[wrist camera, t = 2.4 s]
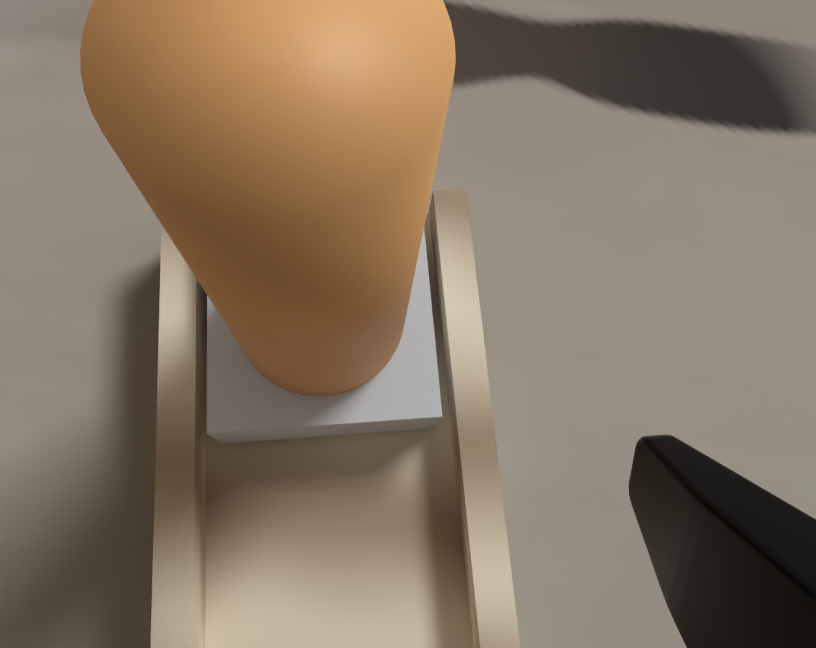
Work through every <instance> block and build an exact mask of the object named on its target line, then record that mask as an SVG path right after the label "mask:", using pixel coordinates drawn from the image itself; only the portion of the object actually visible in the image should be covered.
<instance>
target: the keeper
mask: <svg viewBox="0 0 816 648" xmlns="http://www.w3.org/2000/svg"><path fill="white" fill-rule="evenodd" d="M80 55H81V75H82V81H83V87H84V92H85V95H86V98H87V101H88V103H89V106H90V109H91V112H92V114H93V116H94V118H95V119H96V121H97V123H98V125H99V127H100V129H101V131H102V132H103V134H104V135H105V137H106V138H107V140H108V142H109V143H110V145H111V146H112V148H113V149H114V151H115V152H116V154H117V156H118V157H119V159H120V160H121V162H122V163H123V165H124V167H125V168H126V170H127V171H128V173H129V174H130V176H131V177H132V179H133V181H134V182H135V184H136V185H137V187H138V188H139V190H140V191H141V193H142V195H143V196H144V198H145V199H146V201H147V202H148V204H149V205H150V207H151V209H152V210H153V212H154V213H155V215H156V216H157V218H158V219H159V221H160V223H161V224H162V226H163V227H164V229H165V230H166V232H167V233H168V235H169V237H170V238H171V240H172V241H173V243H174V244H175V246H176V247H177V249H178V251H179V252H180V254H181V255H182V257H183V258H184V260H185V261H186V263H187V265H188V266H189V268H190V269H191V271H192V272H193V274H194V275H195V277H196V279H197V280H198V282H199V283H200V285H201V286H202V288H203V289H204V291H205V293H206V294H207V434H208V435H210V436H211V437H213V438H214V439H216V440H217V441H219V442H220V443H222V444H224V443H238V442H252V441H265V440H279V439H293V438H307V437H321V436H334V435H348V434H362V433H376V432H389V431H403V430H417V429H431V428H435V427H436V425H437V424H438V423H439V421H440V420H441V418H442V406H441V396H440V386H439V375H438V365H437V355H436V344H435V334H434V324H433V313H432V303H431V293H430V283H429V272H428V262H427V252H426V241H425V231H424V224H425V219H426V214H427V209H428V205H429V200H430V195H431V190H432V185H433V180H434V175H435V170H436V165H437V160H438V155H439V150H440V145H441V140H442V135H443V130H444V125H445V120H446V115H447V110H448V105H449V100H450V95H451V90H452V85H453V80H454V71H455V61H456V59H455V40H454V35H453V30H452V25H451V21H450V18H449V15H448V12H447V10H446V7H445V4H444V2H443V0H94V2H93V4H92V6H91V8H90V11H89V14H88V17H87V20H86V23H85V26H84V30H83V36H82V43H81V50H80Z"/></svg>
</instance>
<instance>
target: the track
mask: <svg viewBox="0 0 816 648" xmlns="http://www.w3.org/2000/svg"><path fill="white" fill-rule="evenodd" d="M424 231H425V241H426V252H427V262H428V272H429V283H430V293H431V303H432V313H433V324H434V334H435V344H436V355H437V365H438V375H439V386H440V396H441V406H442V418H441V420H440V421H439V423H438V424H437V425H436V427H435V428H431V429H417V430H403V431H389V432H376V433H362V434H348V435H334V436H321V437H307V438H293V439H279V440H265V441H252V442H238V443H224V444H222V443H220V442H219V441H217V440H216V439H214V438H213V437H211V436H210V435H208V434H207V294H206V293H205V291H204V289H203V288H202V286H201V285H200V283H199V282H198V280H197V279H196V277H195V275H194V274H193V272H192V271H191V269H190V268H189V266H188V265H187V263H186V261H185V260H184V258H183V257H182V255H181V254H180V252H179V251H178V249H177V247H176V246H175V244H174V243H173V241H172V240H171V238H170V237H169V235H168V233H167V232H166V230H165V229H164V227H163V226H161V264H160V303H159V341H158V380H157V419H156V457H155V496H154V534H153V573H152V611H151V648H520V641H519V633H518V624H517V616H516V607H515V599H514V590H513V582H512V574H511V565H510V557H509V548H508V540H507V531H506V523H505V515H504V506H503V498H502V489H501V481H500V472H499V464H498V456H497V447H496V439H495V430H494V422H493V413H492V405H491V397H490V388H489V380H488V371H487V363H486V354H485V346H484V337H483V329H482V321H481V312H480V304H479V295H478V287H477V278H476V270H475V262H474V253H473V245H472V236H471V228H470V219H469V211H468V203H467V194H466V189H462V190H439V191H433V195H432V199H431V204H430V209H429V212H427V214H426V219H425V224H424Z"/></svg>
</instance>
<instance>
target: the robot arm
mask: <svg viewBox="0 0 816 648" xmlns="http://www.w3.org/2000/svg"><path fill="white" fill-rule="evenodd" d="M629 496H630V500H631V504H632V507H633V510H634V512H635V515H636V518H637V521H638V524H639V527H640V530H641V533H642V536H643V538H644V541H645V544H646V547H647V550H648V553H649V556H650V559H651V561H652V564H653V567H654V570H655V573H656V576H657V579H658V582H659V585H660V587H661V590H662V593H663V595H664V598H665V601H666V603H667V606H668V608H669V610H670V613H671V615H672V617H673V619H674V622H675V624H676V626H677V628H678V630H679V632H680V634H681V636H682V638H683V641H684V643H685V645H686V647H687V648H816V519H814V518H812V517H811V516H809V515H807V514H806V513H804V512H802V511H800V510H799V509H797V508H795V507H794V506H792V505H790V504H788V503H787V502H785V501H783V500H782V499H780V498H778V497H776V496H775V495H773V494H771V493H770V492H768V491H766V490H765V489H763V488H761V487H759V486H758V485H756V484H754V483H753V482H751V481H749V480H747V479H746V478H744V477H742V476H741V475H739V474H737V473H735V472H734V471H732V470H730V469H729V468H727V467H725V466H723V465H722V464H720V463H718V462H717V461H715V460H713V459H711V458H710V457H708V456H706V455H705V454H703V453H701V452H699V451H698V450H696V449H694V448H693V447H691V446H689V445H687V444H686V443H684V442H682V441H681V440H679V439H677V438H675V437H673V436H671V435H655V436H644V437H642V438H640V439H639V440H638V442H637V444H636V448H635V453H634V459H633V464H632V469H631V475H630V480H629Z"/></svg>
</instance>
